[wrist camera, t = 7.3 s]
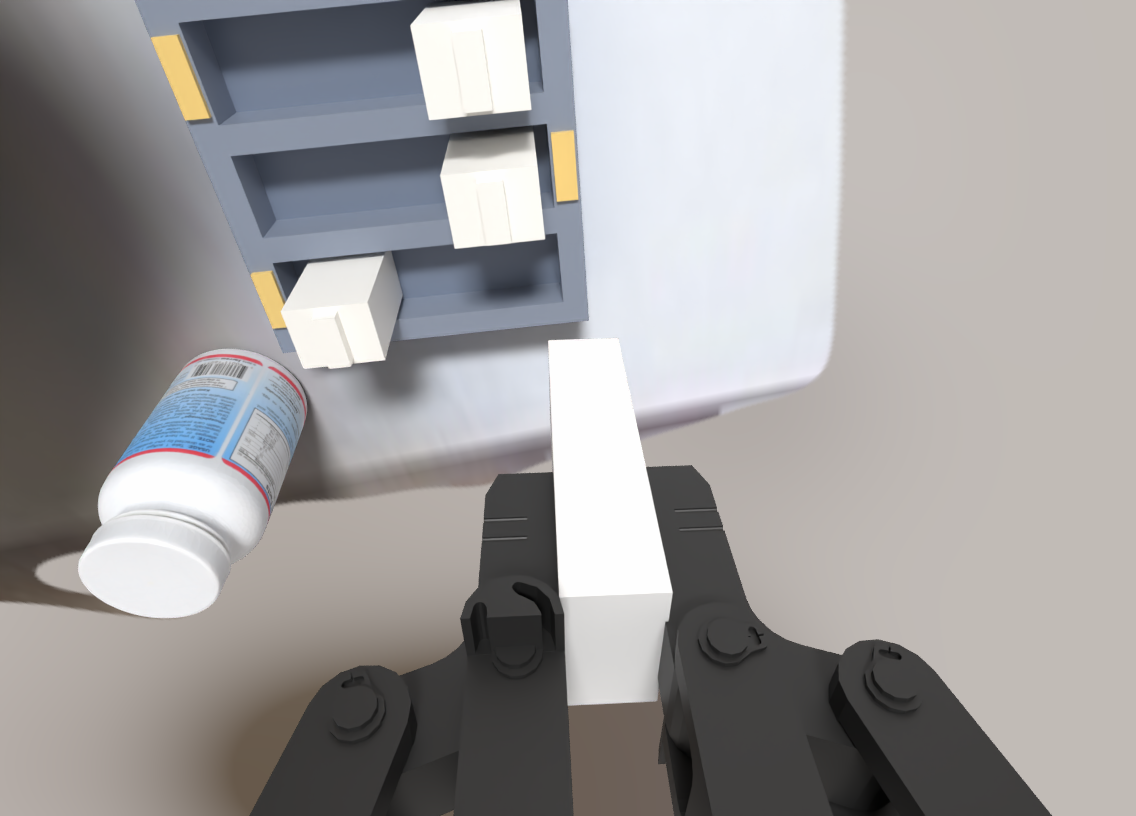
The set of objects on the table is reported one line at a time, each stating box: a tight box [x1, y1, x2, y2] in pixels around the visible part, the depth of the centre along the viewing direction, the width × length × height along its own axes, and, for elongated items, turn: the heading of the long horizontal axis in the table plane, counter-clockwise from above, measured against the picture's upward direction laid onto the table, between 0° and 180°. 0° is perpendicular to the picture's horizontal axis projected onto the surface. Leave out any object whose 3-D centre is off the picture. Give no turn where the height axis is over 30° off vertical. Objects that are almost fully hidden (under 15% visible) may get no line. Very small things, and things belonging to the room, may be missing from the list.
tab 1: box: [281, 251, 403, 369], centre depth 25 cm, size 3×2×6 cm
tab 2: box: [410, 0, 531, 120], centre depth 20 cm, size 3×2×6 cm
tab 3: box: [440, 125, 545, 249], centre depth 22 cm, size 3×2×6 cm
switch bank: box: [135, 0, 589, 353], centre depth 24 cm, size 13×13×3 cm
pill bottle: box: [78, 349, 307, 618], centre depth 27 cm, size 6×6×11 cm
